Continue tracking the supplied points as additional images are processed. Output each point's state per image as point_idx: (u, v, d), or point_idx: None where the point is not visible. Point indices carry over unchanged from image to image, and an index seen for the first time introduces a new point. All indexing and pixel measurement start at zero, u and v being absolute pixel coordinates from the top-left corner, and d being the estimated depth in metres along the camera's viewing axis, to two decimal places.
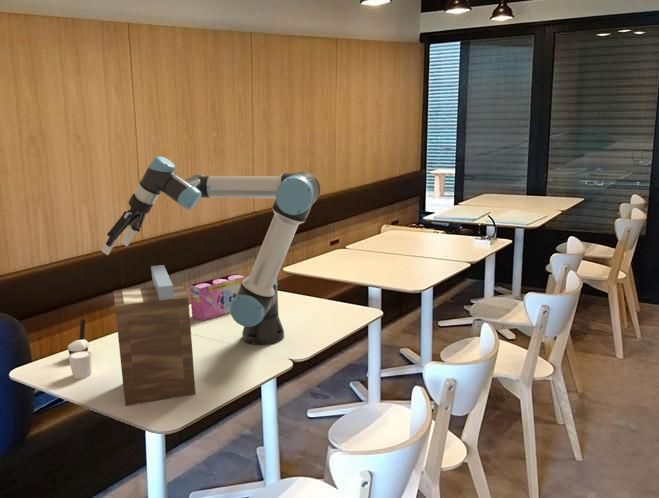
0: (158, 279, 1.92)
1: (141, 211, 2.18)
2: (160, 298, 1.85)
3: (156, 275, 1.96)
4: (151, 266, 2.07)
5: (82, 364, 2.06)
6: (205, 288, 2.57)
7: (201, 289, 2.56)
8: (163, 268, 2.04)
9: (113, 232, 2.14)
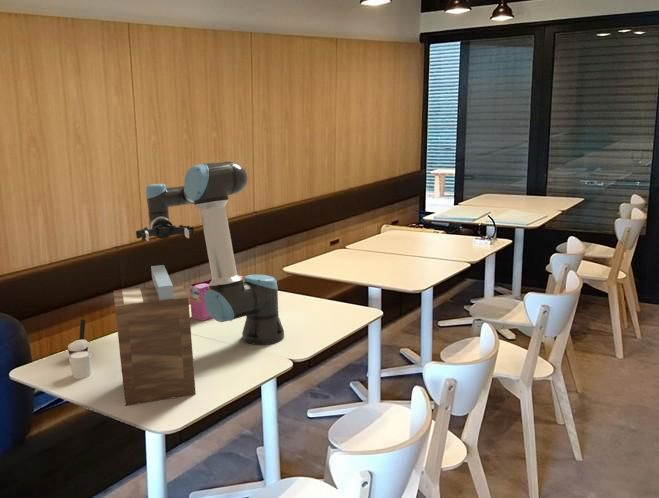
0: (158, 279, 1.92)
1: (154, 222, 2.41)
2: (160, 298, 1.85)
3: (156, 275, 1.96)
4: (151, 266, 2.07)
5: (82, 364, 2.06)
6: (205, 288, 2.57)
7: (201, 289, 2.55)
8: (163, 268, 2.04)
9: None
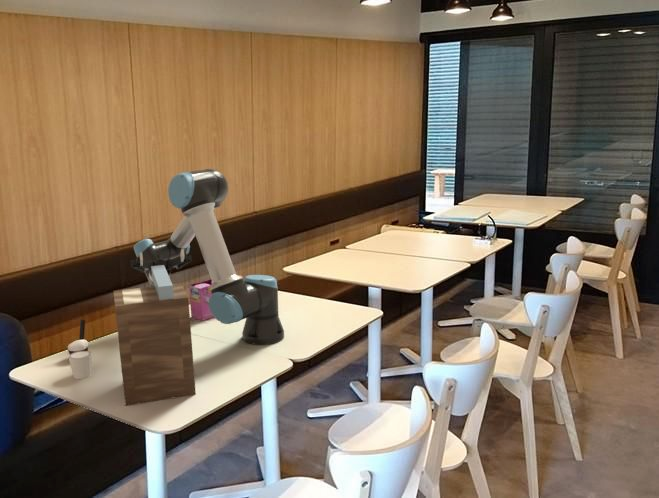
0: (158, 279, 1.92)
1: None
2: (160, 298, 1.85)
3: (156, 275, 1.96)
4: (151, 266, 2.07)
5: (82, 364, 2.06)
6: (205, 288, 2.57)
7: (201, 289, 2.55)
8: (163, 268, 2.04)
9: None
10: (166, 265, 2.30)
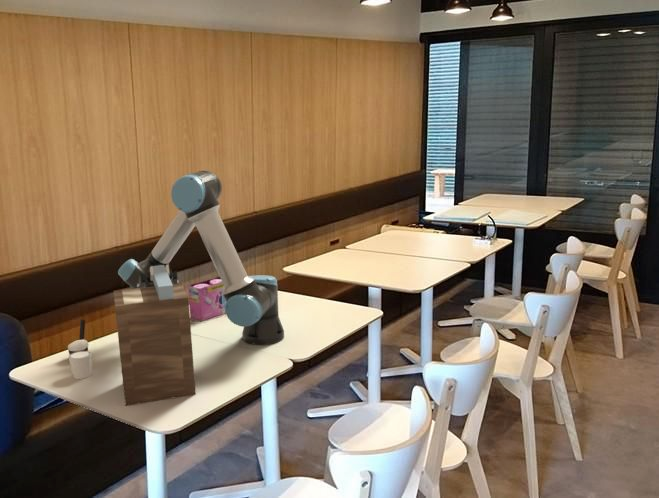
0: (158, 279, 1.92)
1: None
2: (160, 298, 1.85)
3: (156, 275, 1.96)
4: (151, 266, 2.07)
5: (82, 364, 2.06)
6: (204, 288, 2.57)
7: (200, 289, 2.55)
8: (163, 268, 2.04)
9: (140, 279, 2.06)
10: None
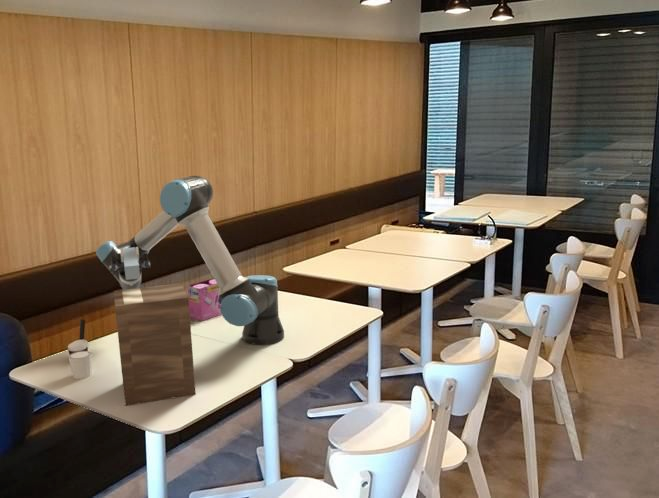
0: (126, 260, 1.98)
1: None
2: (126, 277, 1.91)
3: (125, 256, 2.02)
4: None
5: (82, 364, 2.06)
6: (204, 288, 2.56)
7: (200, 289, 2.55)
8: (133, 250, 2.10)
9: (111, 261, 2.12)
10: None
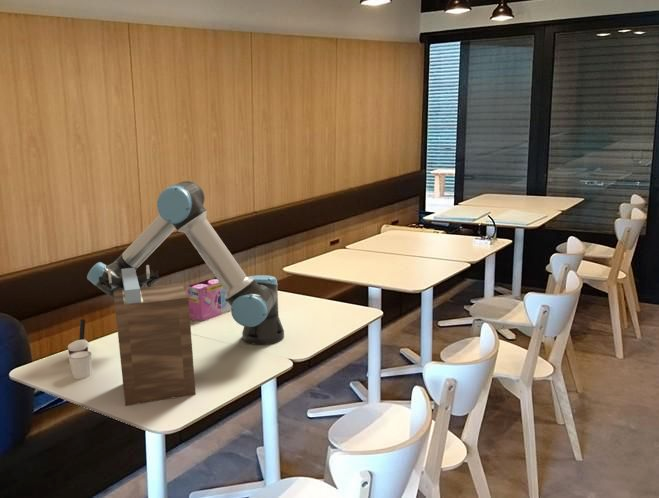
0: (126, 282, 1.89)
1: None
2: (127, 302, 1.82)
3: (125, 278, 1.93)
4: (121, 269, 2.04)
5: (82, 364, 2.06)
6: (204, 288, 2.56)
7: (200, 289, 2.55)
8: (133, 271, 2.01)
9: None
10: None
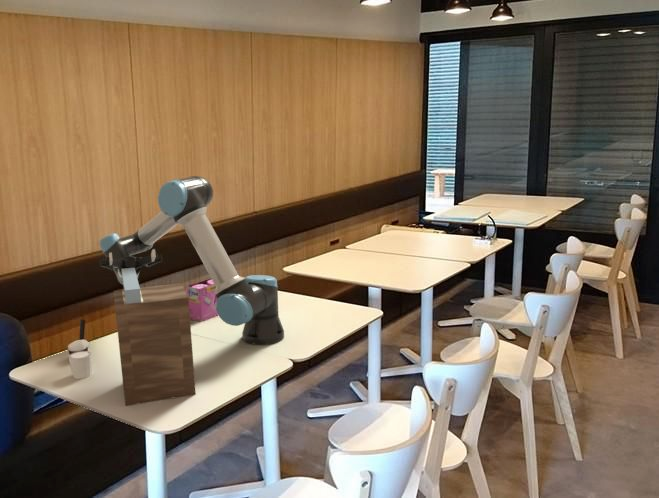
0: (126, 282, 1.89)
1: None
2: (127, 302, 1.82)
3: (125, 278, 1.93)
4: (121, 269, 2.04)
5: (82, 364, 2.06)
6: (204, 288, 2.56)
7: (200, 290, 2.55)
8: (133, 271, 2.01)
9: None
10: (136, 263, 2.25)
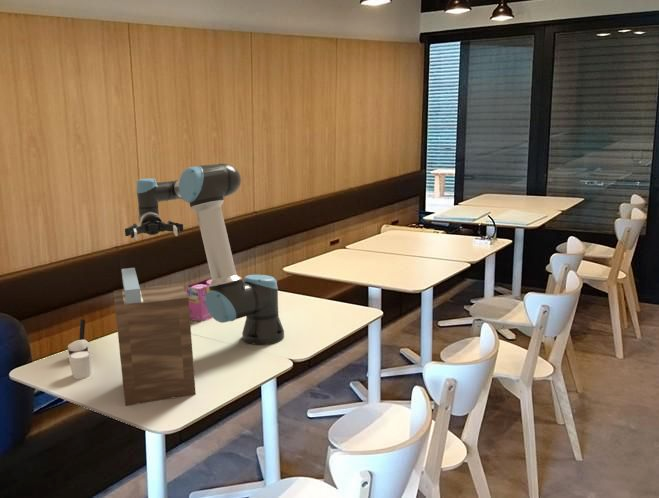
0: (126, 282, 1.89)
1: (143, 219, 2.42)
2: (127, 302, 1.82)
3: (125, 278, 1.93)
4: (121, 269, 2.04)
5: (82, 364, 2.06)
6: (203, 288, 2.56)
7: (200, 290, 2.55)
8: (133, 271, 2.01)
9: None
10: (158, 228, 2.39)
